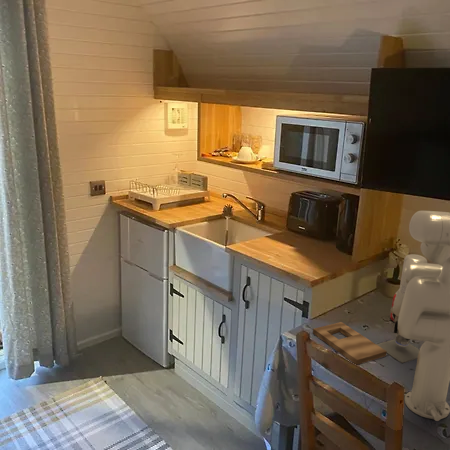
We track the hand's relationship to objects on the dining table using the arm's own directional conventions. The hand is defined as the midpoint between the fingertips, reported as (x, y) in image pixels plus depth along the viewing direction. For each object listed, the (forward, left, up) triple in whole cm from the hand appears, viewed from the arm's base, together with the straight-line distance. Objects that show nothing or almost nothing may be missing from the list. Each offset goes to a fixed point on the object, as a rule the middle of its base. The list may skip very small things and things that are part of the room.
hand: (403, 335), depth 175 cm
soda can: (+24, -8, -6) cm, 26 cm away
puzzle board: (+3, +19, -6) cm, 20 cm away
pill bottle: (0, 0, -4) cm, 4 cm away
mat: (0, 0, -6) cm, 6 cm away
